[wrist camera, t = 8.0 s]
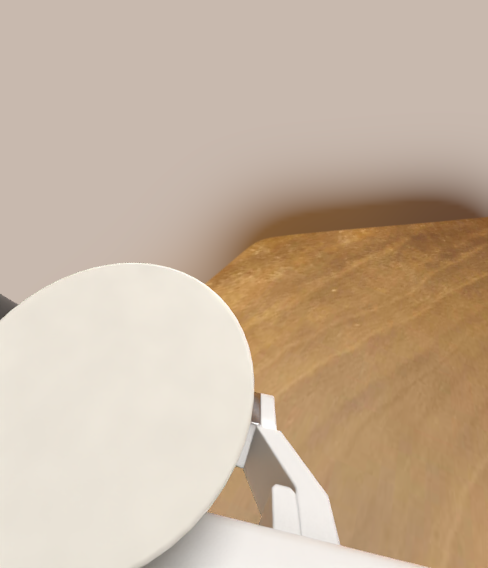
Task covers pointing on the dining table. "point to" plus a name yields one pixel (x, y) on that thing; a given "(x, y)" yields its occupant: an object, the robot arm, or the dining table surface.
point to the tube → (117, 415)
